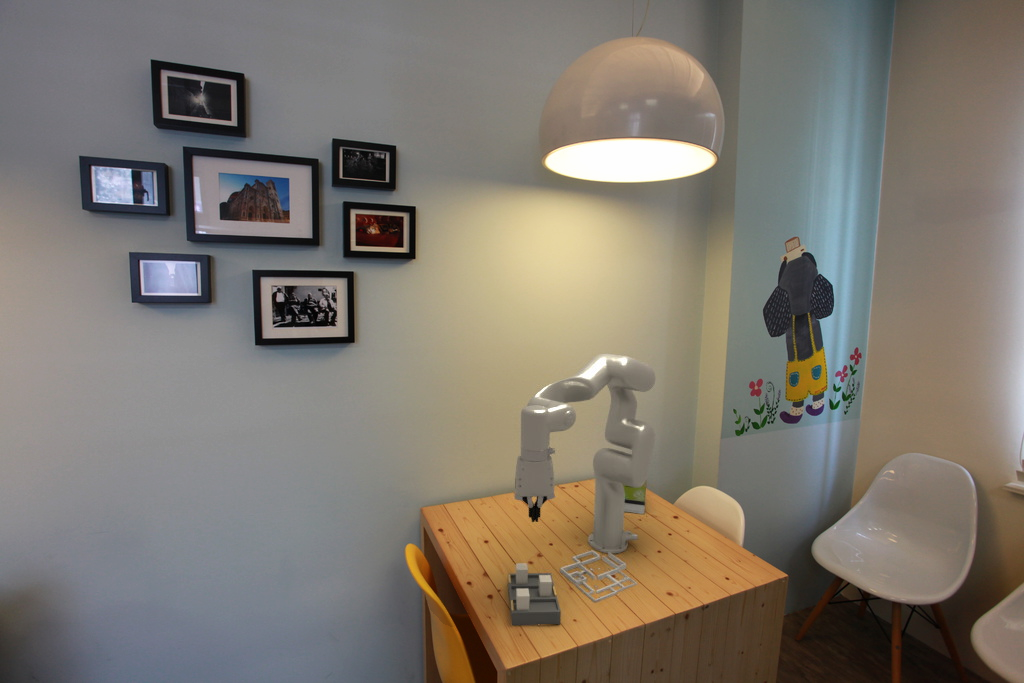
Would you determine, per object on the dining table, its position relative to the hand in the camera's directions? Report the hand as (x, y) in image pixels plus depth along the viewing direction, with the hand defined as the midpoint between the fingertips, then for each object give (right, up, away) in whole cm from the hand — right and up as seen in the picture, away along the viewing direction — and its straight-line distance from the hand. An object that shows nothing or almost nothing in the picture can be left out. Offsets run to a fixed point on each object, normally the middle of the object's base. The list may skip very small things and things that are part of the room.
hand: (534, 519), depth 122 cm
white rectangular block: (-3, -18, +3) cm, 18 cm away
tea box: (+38, -17, +56) cm, 70 cm away
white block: (+3, -18, -2) cm, 19 cm away
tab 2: (-3, -19, -8) cm, 21 cm away
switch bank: (-1, -21, -2) cm, 21 cm away
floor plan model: (+18, -21, +14) cm, 31 cm away
